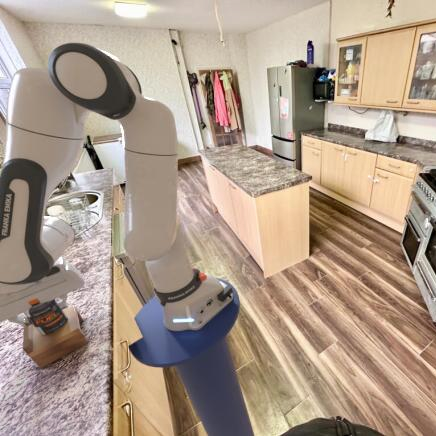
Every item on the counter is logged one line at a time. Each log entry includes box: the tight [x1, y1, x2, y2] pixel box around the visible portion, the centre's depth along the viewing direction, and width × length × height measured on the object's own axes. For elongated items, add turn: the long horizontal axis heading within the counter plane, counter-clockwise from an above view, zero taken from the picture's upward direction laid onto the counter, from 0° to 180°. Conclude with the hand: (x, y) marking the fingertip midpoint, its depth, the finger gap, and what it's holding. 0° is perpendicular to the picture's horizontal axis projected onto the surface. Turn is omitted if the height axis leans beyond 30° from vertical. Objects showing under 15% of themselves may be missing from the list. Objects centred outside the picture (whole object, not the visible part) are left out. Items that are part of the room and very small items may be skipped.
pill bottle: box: [23, 298, 68, 335], centre depth 62 cm, size 6×6×11 cm
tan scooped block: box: [22, 304, 89, 369], centre depth 65 cm, size 10×12×8 cm
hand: (47, 315), depth 63 cm, fingers closed on pill bottle, 6 cm apart
